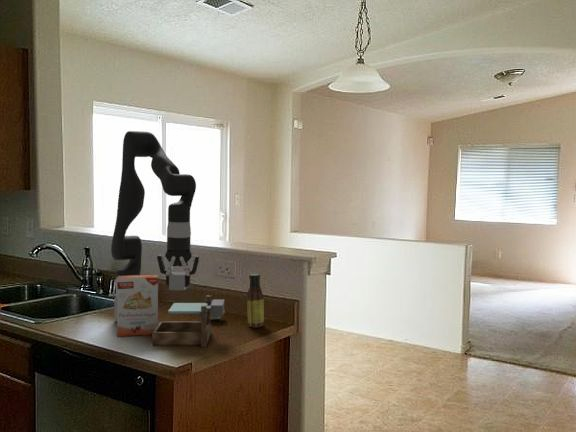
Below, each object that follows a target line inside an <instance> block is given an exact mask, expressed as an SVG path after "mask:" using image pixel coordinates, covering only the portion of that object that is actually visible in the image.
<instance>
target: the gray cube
mask: <svg viewBox="0 0 576 432" xmlns="http://www.w3.org/2000/svg"><path fill="white" fill-rule="evenodd" d="M185 276H186V273H185V271H171V273H170V275H169V287H168V290H169V291H185V290H186V289H187V287H185Z"/></svg>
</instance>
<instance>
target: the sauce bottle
mask: <svg viewBox="0 0 576 432" xmlns="http://www.w3.org/2000/svg"><path fill="white" fill-rule="evenodd" d="M248 276H249V277H248V278H249V288H248V290H247V293H246V295H247V297H246V300H247V301H246V304H247V307H246V309H247V310H246V311H247V324H248V327H250V328H254V329H255V328H256V329H257V328H261V327H264V324H265V323H264V322H265V313H264V312H265V306H264V305H265V304H264V303H265V301H264V295H263V292H262V288H261V282H260V281H261V280H260V279H261V274H260V273H250V274H249V275H248Z"/></svg>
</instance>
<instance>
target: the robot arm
mask: <svg viewBox="0 0 576 432" xmlns="http://www.w3.org/2000/svg"><path fill="white" fill-rule="evenodd" d="M148 157H149V158H151V162H150V167H151V169H152V172H153V174H155V176H156V177H157V178H158V179H159V181H160V183H161V184H160V185H161V186H162V189H163V192H164V194H166V195H167V196H170V197H171V196H172V197H173V196H174V197H179V200H178V201H177V202H173V203H171V204H169V205H168V209H167V226H166V227H167V228H166V252H165V254H158V255H157V257H156V259H157V262H158V267H159V272H160V274H164V275H165V285H166V286H167V287H168V288H169V275H170V273H171V272H173V268H174V267H182V268H183V271H184V272H185V273H186V276H185V287H186V288H188V287H189V286H190V285H191V276H193V275H195V274H196V273H197V268H198V265H199V262H200V255H195V254H192V252H191V235H192V227H191V207H192V205H193V201H194V197H195V195H196V191H197V190H196V189H197V182H196V180H195V177H194V176H193V175H192V174H188V173H186V174H184V173H183V174H182V173H180V169H179V167H178V166H177V165H176V164H174V162H173V161H172V160H171V159H170V158H169V157H168V156H167V154H166V152H165V150H164V149H163V147H162V145H161V143H160V141H158V139H157V137H156V135H155V134H154V133H152V132H150V131H144V130H143V131H142V130H141V131H140V130H139V131H138V130H128V131H127V132H126V133H125V135H124V136H123V140H122V158H121V159H122V161H121V162H122V163H121V166H122V167H121V177H120V183H119V184H120V185H119V190H118V199H117V209H116V218H115V219H116V220H115V226H114V231H113V233H112V234H113V235H112V241H111V246H110V247H111V248H110V249H111V251H110V252H111V257H112V259H113V260H116V261H125V260H127V261H128V260H129V261H128V263H127V264H125V265H123V266H121V267H119V268H117V269H116V271H115V297H114V322H115V323H117V279H118V276H134V275H141V270H142V254H143V244H142V240H141V238H140V236H138V235H126V234H127V230H128V229H129V227H130V225H131V224H132V222H134V220H135V219H136V218H137V217H138V216H139V214H140V213H141V212H142V210H143V207H144V203H145V194H146V193H145V191H146V190H145V187H144V184H143V182H142V181H141V179H140V177H139V176H138V174H137V171H136V166H135V160H136V158H148ZM190 259H191V260H192V263H193V265H192V268H191V270H190V266H189V261H190ZM165 260H167V261H168V262H169V264H168V265H167V269H166V266H165V263H164V261H165Z"/></svg>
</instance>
